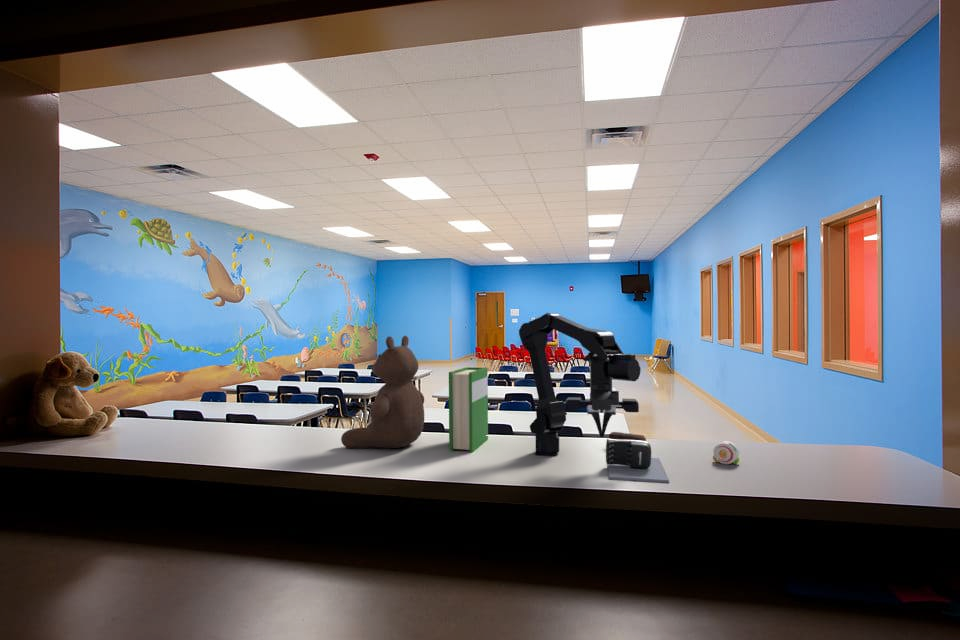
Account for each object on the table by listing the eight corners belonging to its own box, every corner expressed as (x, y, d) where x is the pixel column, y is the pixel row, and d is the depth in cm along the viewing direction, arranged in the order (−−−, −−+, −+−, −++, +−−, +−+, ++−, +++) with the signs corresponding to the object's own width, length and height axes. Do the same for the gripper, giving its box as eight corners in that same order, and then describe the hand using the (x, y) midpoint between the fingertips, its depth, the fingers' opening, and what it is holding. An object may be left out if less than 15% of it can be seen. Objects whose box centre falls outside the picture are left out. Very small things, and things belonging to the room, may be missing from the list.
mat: (609, 479, 123) (609, 476, 123) (607, 457, 142) (607, 455, 142) (669, 482, 120) (669, 480, 120) (659, 460, 139) (659, 458, 139)
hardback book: (472, 452, 150) (471, 372, 150) (449, 451, 152) (448, 372, 152) (488, 439, 166) (487, 367, 167) (466, 438, 169) (466, 367, 169)
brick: (608, 449, 153) (608, 433, 153) (612, 446, 157) (611, 431, 157) (644, 453, 148) (644, 437, 148) (647, 450, 151) (647, 434, 151)
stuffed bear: (380, 433, 177) (377, 335, 178) (437, 437, 169) (435, 334, 170) (326, 454, 150) (324, 338, 151) (392, 459, 142) (389, 336, 143)
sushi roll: (736, 467, 132) (736, 445, 132) (711, 463, 136) (710, 442, 136) (740, 463, 136) (740, 442, 136) (715, 459, 140) (715, 439, 140)
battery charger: (606, 443, 129) (652, 446, 127) (606, 436, 133) (651, 440, 130) (605, 468, 131) (651, 472, 128) (605, 461, 134) (650, 464, 132)
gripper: (563, 381, 128) (564, 442, 127) (640, 382, 123) (640, 445, 123) (566, 376, 138) (567, 433, 138) (636, 377, 134) (637, 436, 134)
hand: (601, 437), depth 133 cm, fingers closed
